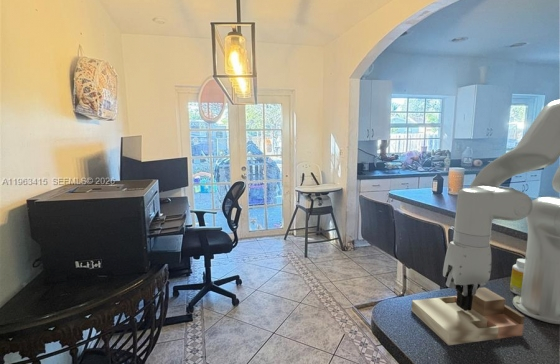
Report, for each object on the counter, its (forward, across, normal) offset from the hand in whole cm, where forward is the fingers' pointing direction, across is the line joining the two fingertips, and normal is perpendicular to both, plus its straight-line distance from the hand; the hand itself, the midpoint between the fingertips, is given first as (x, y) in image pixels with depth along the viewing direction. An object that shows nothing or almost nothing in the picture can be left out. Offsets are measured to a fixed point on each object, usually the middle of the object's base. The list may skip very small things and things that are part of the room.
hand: (463, 307), depth 75 cm
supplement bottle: (+4, -29, -10) cm, 31 cm away
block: (+1, -6, 0) cm, 6 cm away
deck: (+4, 0, 0) cm, 4 cm away
